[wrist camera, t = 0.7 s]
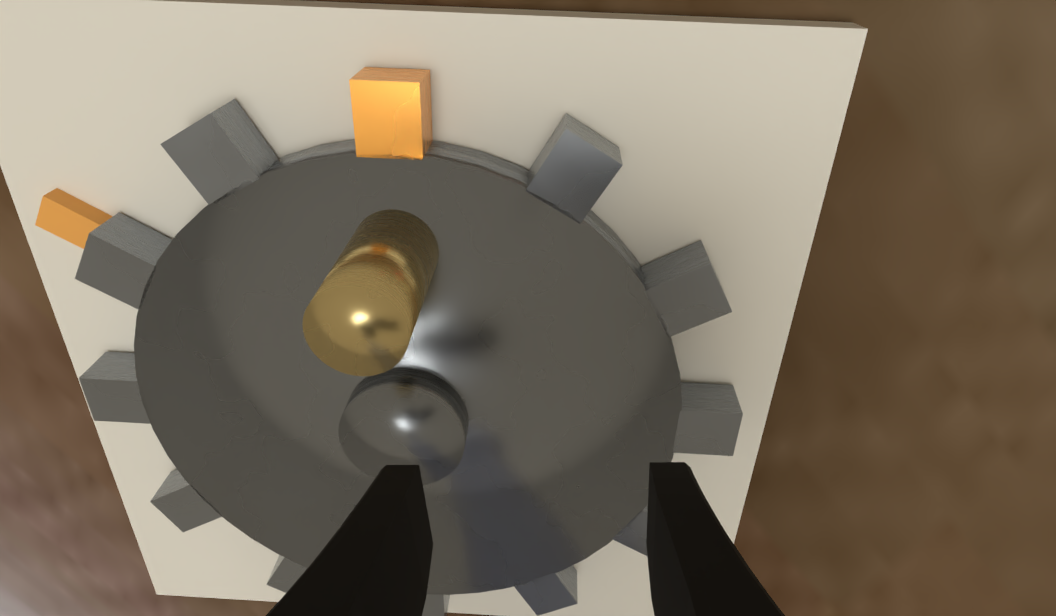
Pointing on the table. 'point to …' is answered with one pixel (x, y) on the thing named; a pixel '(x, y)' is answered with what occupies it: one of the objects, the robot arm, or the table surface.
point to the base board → (457, 118)
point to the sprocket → (408, 344)
